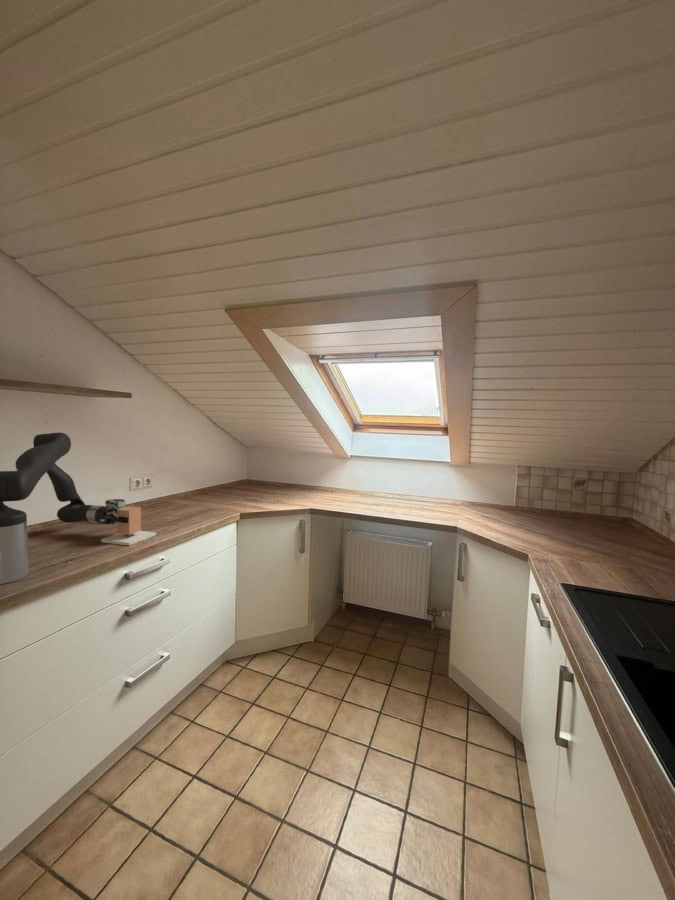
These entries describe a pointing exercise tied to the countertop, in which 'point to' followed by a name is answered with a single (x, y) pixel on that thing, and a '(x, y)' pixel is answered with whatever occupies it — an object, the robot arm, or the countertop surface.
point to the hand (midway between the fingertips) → (134, 518)
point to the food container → (116, 503)
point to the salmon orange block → (129, 520)
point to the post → (128, 538)
